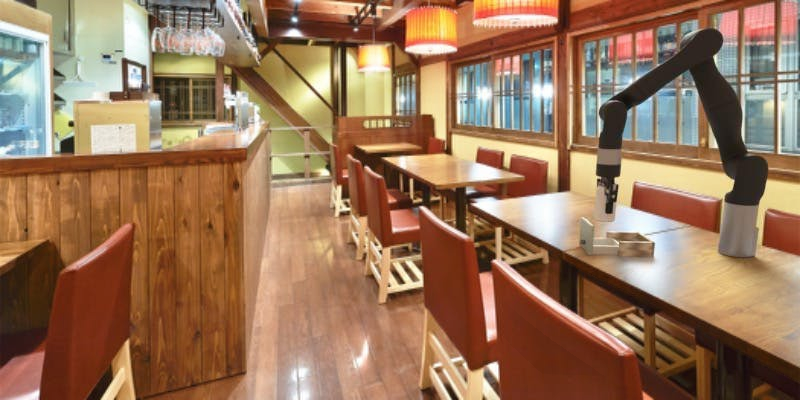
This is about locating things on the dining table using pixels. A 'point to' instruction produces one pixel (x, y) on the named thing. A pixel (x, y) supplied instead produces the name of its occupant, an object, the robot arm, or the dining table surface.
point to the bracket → (595, 240)
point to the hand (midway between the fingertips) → (605, 211)
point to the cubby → (632, 244)
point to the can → (603, 206)
